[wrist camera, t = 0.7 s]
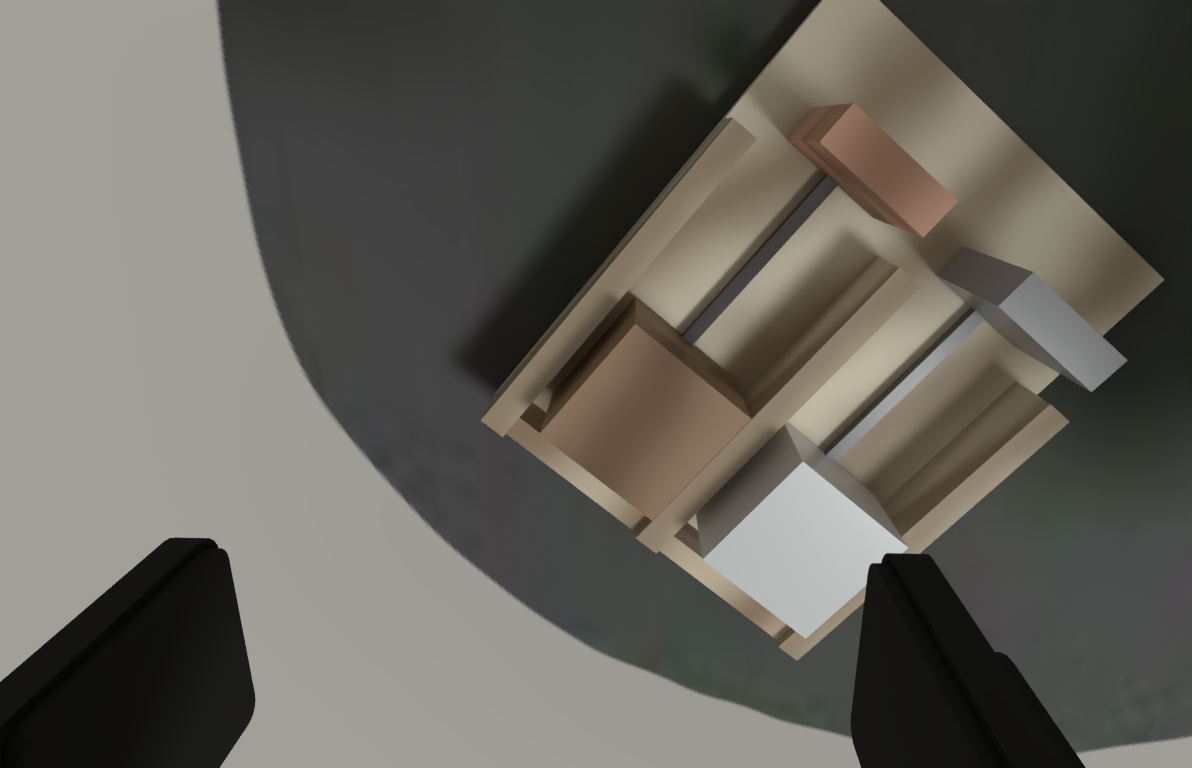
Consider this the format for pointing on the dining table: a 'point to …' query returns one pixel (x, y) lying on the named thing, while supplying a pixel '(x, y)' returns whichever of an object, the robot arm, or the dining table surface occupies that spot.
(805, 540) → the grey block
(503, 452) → the dining table surface
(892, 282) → the lane shelf
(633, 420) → the walnut block
